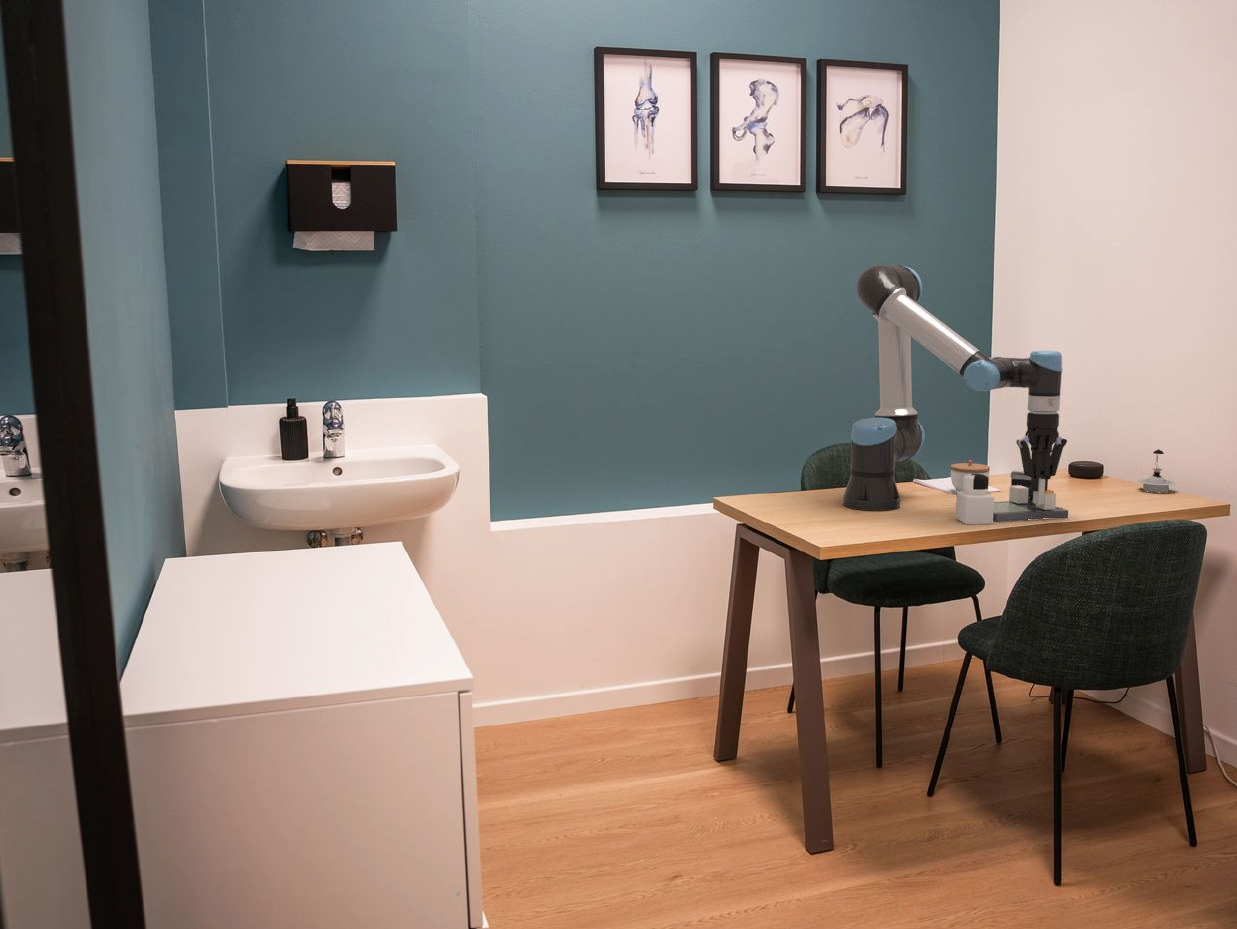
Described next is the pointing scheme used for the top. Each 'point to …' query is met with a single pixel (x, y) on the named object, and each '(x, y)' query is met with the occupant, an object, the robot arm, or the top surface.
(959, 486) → the lidded jar
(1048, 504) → the block
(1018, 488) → the breaker
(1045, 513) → the panel
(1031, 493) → the electrical switch
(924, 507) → the top surface
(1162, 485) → the grey stand with stem
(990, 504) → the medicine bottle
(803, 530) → the top surface
